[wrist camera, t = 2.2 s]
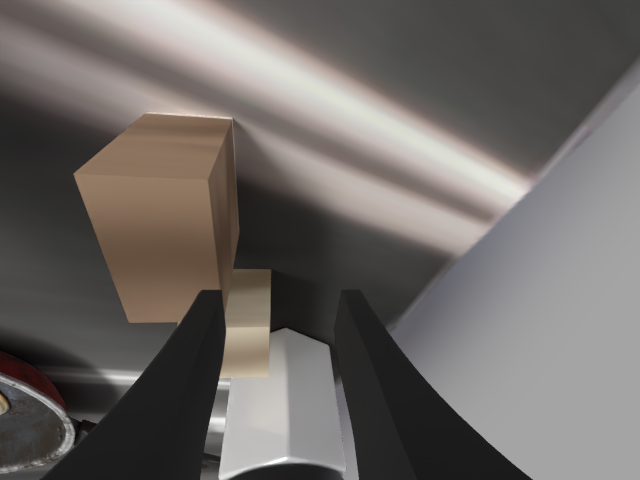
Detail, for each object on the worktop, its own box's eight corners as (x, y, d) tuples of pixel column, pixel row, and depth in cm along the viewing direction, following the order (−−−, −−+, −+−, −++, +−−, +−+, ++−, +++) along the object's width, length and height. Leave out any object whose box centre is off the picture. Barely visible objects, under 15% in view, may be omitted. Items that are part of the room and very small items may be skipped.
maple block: (195, 267, 22) (176, 328, 18) (271, 268, 22) (269, 326, 18) (203, 317, 25) (189, 379, 21) (270, 316, 25) (269, 376, 21)
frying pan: (-244, 269, 18) (-345, 321, 16) (264, 384, 31) (263, 425, 28) (-183, 419, 27) (-240, 471, 24) (195, 462, 39) (188, 500, 36)
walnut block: (147, 111, 16) (73, 173, 10) (232, 117, 16) (207, 179, 11) (171, 230, 20) (128, 322, 14) (239, 232, 20) (223, 321, 15)
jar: (320, 386, 32) (337, 553, 22) (234, 387, 30) (213, 566, 21) (335, 327, 27) (367, 511, 17) (233, 325, 25) (205, 524, 16)
